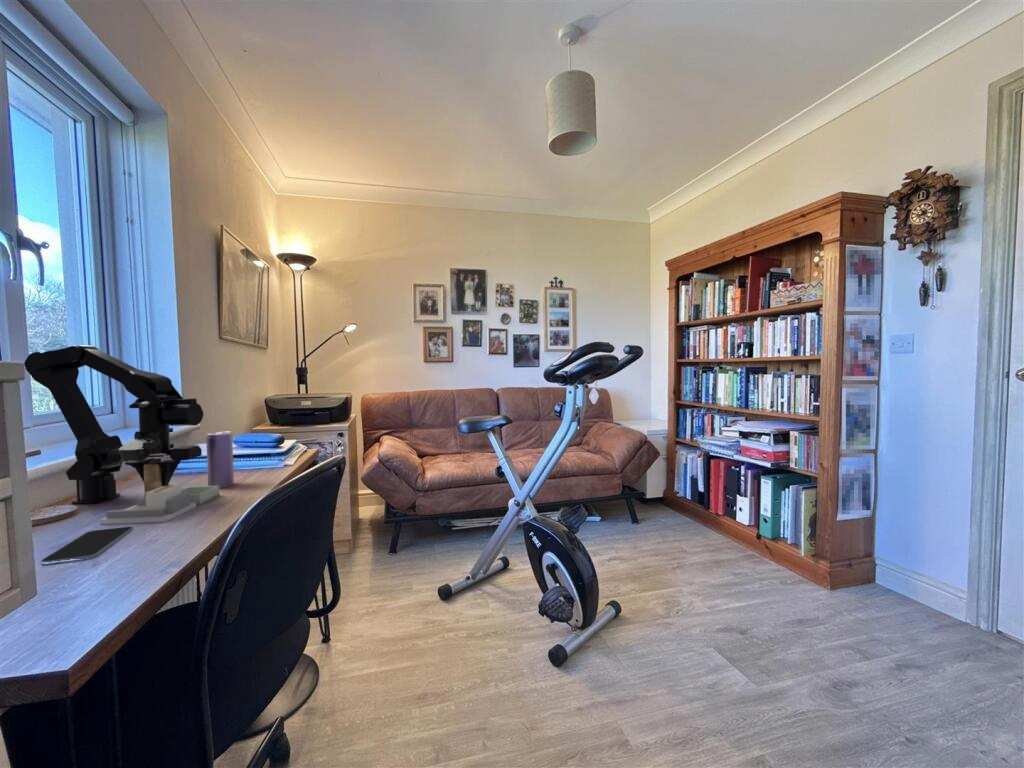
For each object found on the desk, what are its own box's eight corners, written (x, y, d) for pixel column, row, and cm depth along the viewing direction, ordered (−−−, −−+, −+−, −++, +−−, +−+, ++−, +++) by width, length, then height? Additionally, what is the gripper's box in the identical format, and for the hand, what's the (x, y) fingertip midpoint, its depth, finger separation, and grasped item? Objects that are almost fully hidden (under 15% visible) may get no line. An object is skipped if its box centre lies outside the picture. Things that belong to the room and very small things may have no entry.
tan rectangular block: (144, 500, 104) (143, 460, 103) (155, 496, 107) (153, 457, 107) (159, 500, 104) (158, 460, 104) (169, 496, 107) (168, 457, 107)
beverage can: (224, 488, 114) (222, 434, 114) (202, 488, 115) (200, 434, 114) (238, 482, 120) (237, 431, 120) (218, 482, 120) (216, 431, 120)
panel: (99, 524, 89) (99, 505, 89) (137, 508, 99) (136, 491, 99) (165, 521, 90) (164, 503, 90) (196, 506, 100) (195, 489, 100)
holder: (167, 505, 100) (166, 495, 100) (188, 496, 108) (188, 486, 108) (200, 504, 101) (200, 494, 101) (219, 495, 109) (219, 485, 109)
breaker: (146, 512, 92) (145, 491, 92) (163, 504, 97) (162, 485, 97) (165, 511, 92) (165, 491, 92) (181, 504, 97) (180, 484, 97)
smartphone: (135, 525, 87) (94, 555, 73) (135, 530, 87) (94, 560, 73) (88, 531, 84) (37, 562, 70) (88, 535, 84) (37, 567, 70)
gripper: (84, 431, 96) (87, 498, 97) (171, 430, 98) (173, 495, 98) (124, 424, 107) (127, 485, 108) (201, 423, 109) (204, 482, 109)
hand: (157, 487), depth 106 cm, fingers closed on tan rectangular block, 3 cm apart
